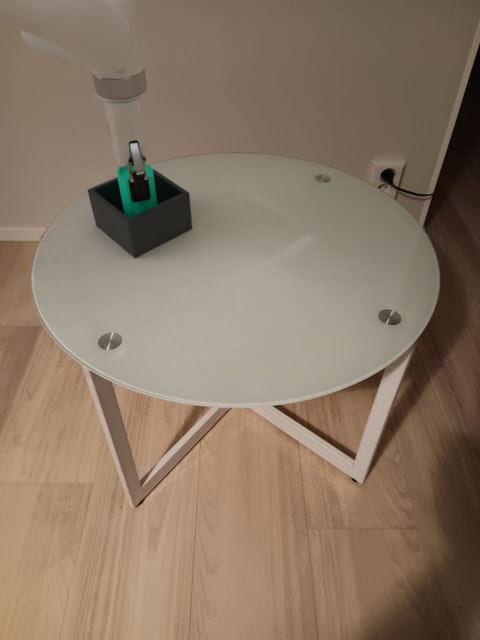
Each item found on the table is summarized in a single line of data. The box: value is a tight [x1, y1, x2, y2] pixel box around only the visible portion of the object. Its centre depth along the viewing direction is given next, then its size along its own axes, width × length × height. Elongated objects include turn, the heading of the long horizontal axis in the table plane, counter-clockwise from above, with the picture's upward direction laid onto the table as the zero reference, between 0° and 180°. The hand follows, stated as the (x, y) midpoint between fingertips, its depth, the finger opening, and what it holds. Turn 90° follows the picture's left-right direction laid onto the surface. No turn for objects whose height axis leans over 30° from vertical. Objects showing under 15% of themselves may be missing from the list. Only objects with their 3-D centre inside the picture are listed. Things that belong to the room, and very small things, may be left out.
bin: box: [87, 167, 193, 259], centre depth 90 cm, size 13×13×8 cm
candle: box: [116, 163, 158, 218], centre depth 88 cm, size 6×6×12 cm
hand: (137, 189), depth 87 cm, fingers closed on candle, 5 cm apart
